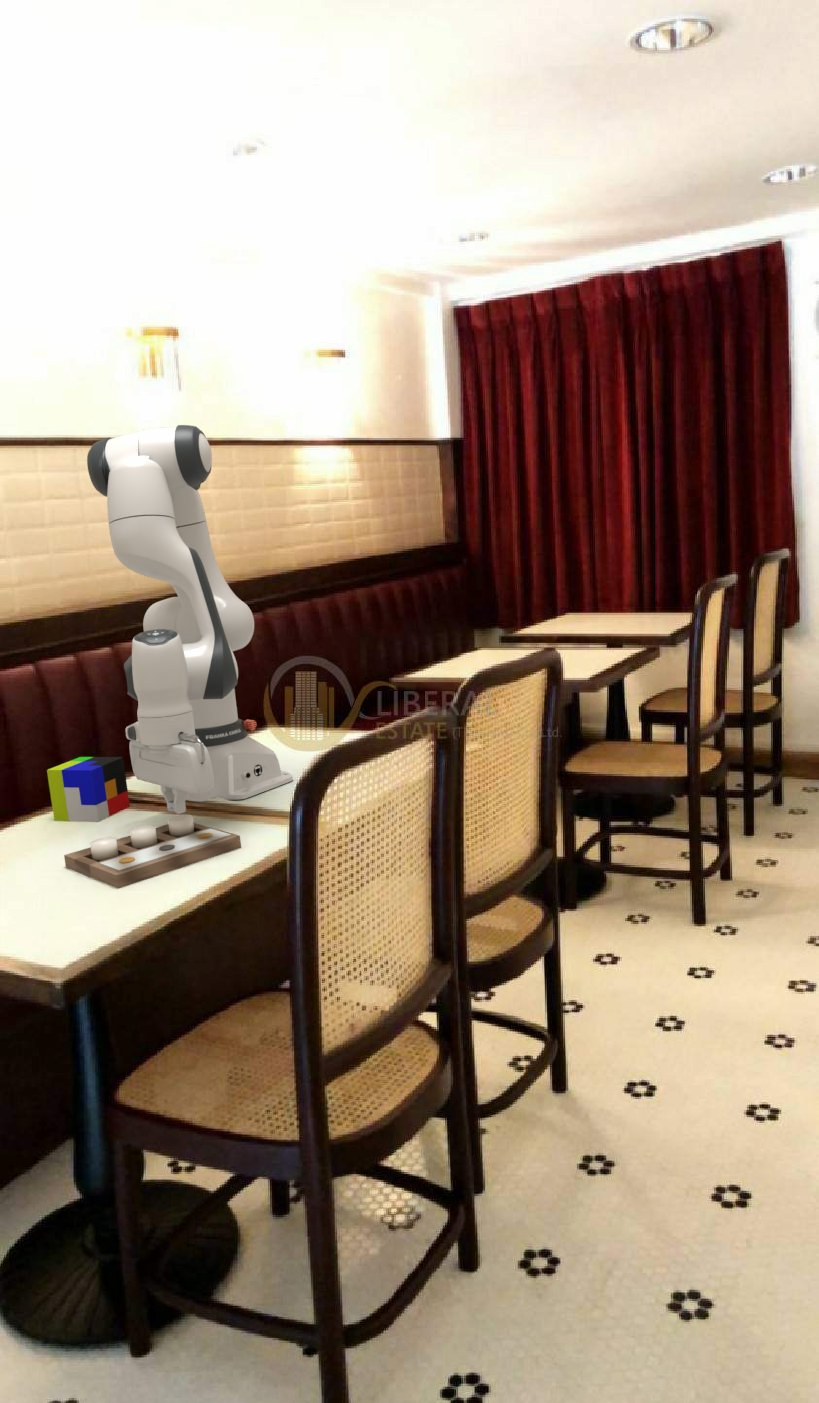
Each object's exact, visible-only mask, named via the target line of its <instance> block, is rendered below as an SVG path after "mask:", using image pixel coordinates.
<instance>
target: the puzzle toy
mask: <svg viewBox="0 0 819 1403" xmlns="http://www.w3.org/2000/svg"><path fill="white" fill-rule="evenodd" d="M125 770H126V769H125V761H124V757H123V756H79V757H77V758H74V759H71V760H69V761H65V762H64V763H61V764H59V765H56V766H54V767H51V768H48V769H47V770H46V773H47V780H48V787H49V793H50V801H51V806H52V807H51V808H52V812H53V813H52V815H53V820H54V822H74V823H75V822H77V823H78V822H79V823H81V822H84V823H100V822H102V821H105V819H106V820H107V819H108V818H110V817H112V816H114V815H116V814H118V813H120V812H122V811H124V810H126V809H128V808H130V806H131V804H130V799H129V791H128V784H127V776H126V771H125Z"/></svg>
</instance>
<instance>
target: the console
mask: <svg viewBox="0 0 819 1403" xmlns="http://www.w3.org/2000/svg"><path fill="white" fill-rule="evenodd" d="M193 824H194V832H193V833H191V834H187V835H184V836H171V835H170V831H169V824H164V825H160V826H157V827H155V828H156V835H157V844H155V845H152V846H149V847H145V848H134V847H132V841H131V834H130V835H127V836H123V837H121V838H120V837H119V838H116V840H117V847H118V856H116V857H113V858H110V859H107V860H93V859H92V853H91V846H90V847H87V848H84V849H80V850H78V851H73V852H69V853H68V854H64V858H63V859H64V863H65V868H66V869H69V870H70V871H74V872H77V873H79V874H81V875H84V876H87V877H89V878H91V879H93V880H96V881H99V882H101V883H104V884H107V885H108V886H111V887H113V888H116V889H121V888H124V887H127V886H130V885H134V884H136V883H139V882H143V881H145V880H148V879H151V878H154V877H157V876H160V875H163V874H166V873H170V872H173V871H175V870H178V869H182V868H185V867H188V866H190V865H193V864H196V863H199V862H203V861H207V860H209V859H211V858H215V857H217V856H221V855H223V854H224V855H225V854H226V853H230V852H232V851H235V850H238V849H241V848H242V842H241V841H242V840H241V835H240V834H235V833H232V832H228V831H225V830H221V829H218V828H214V827H212V826H208V825H203V824H201V823H197V822H194V821H193Z"/></svg>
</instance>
